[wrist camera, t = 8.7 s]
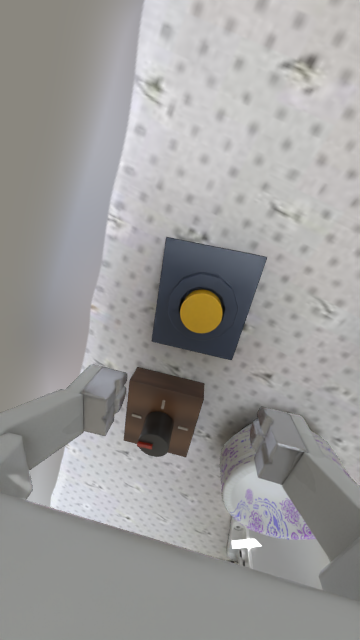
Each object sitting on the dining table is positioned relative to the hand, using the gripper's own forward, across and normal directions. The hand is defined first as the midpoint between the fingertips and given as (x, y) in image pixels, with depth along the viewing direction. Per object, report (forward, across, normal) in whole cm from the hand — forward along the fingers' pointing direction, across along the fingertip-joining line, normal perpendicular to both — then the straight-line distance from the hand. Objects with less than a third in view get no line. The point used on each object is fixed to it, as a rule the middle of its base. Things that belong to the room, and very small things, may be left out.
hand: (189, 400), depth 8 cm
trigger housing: (+16, 0, 0) cm, 16 cm away
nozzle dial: (+13, +2, +18) cm, 22 cm away
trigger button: (+13, 0, 0) cm, 13 cm away
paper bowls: (+16, -15, +20) cm, 30 cm away
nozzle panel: (+16, +2, +18) cm, 24 cm away
